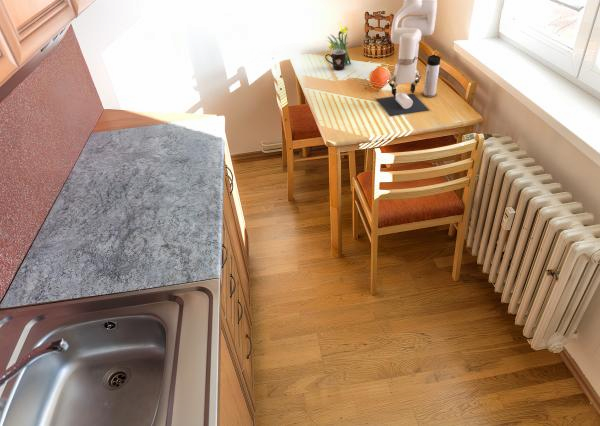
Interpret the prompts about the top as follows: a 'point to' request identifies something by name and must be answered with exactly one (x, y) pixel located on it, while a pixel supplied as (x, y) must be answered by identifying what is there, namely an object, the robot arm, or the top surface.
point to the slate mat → (397, 109)
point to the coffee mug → (337, 59)
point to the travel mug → (431, 76)
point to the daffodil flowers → (342, 44)
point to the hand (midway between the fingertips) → (403, 93)
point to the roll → (404, 100)
